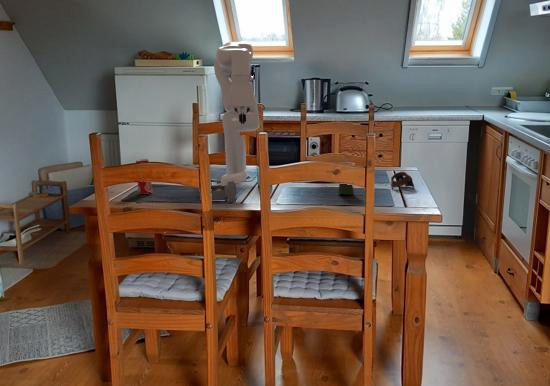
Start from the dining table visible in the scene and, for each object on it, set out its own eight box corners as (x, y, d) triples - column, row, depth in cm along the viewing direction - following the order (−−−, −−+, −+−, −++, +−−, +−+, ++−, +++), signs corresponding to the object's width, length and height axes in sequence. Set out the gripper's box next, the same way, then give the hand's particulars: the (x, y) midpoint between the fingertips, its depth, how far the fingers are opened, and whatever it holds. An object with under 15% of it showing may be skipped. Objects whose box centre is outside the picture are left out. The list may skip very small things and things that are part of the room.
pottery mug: (419, 191, 248) (412, 176, 244) (398, 201, 249) (392, 186, 245) (409, 178, 258) (403, 163, 254) (389, 188, 259) (383, 173, 255)
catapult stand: (229, 194, 246) (228, 175, 244) (237, 194, 246) (236, 174, 245) (227, 203, 233) (226, 182, 231) (236, 202, 233) (235, 182, 231)
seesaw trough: (218, 180, 247) (216, 173, 247) (248, 173, 247) (246, 166, 246) (215, 187, 235) (213, 179, 234) (248, 180, 234) (246, 172, 234)
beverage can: (144, 196, 247) (142, 161, 244) (134, 194, 251) (132, 160, 248) (155, 193, 252) (153, 159, 249) (145, 191, 256) (143, 158, 252)
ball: (218, 186, 240) (225, 191, 241) (213, 192, 241) (219, 197, 241) (218, 188, 237) (224, 193, 237) (212, 194, 237) (219, 200, 238)
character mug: (354, 197, 237) (354, 166, 234) (336, 197, 238) (336, 166, 235) (354, 191, 247) (354, 161, 244) (337, 191, 248) (337, 161, 245)
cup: (210, 196, 244) (209, 178, 242) (226, 196, 244) (225, 177, 242) (208, 202, 235) (207, 182, 233) (225, 201, 235) (224, 182, 233)
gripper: (259, 78, 247) (260, 122, 251) (223, 79, 247) (225, 123, 251) (259, 79, 240) (260, 124, 244) (222, 80, 240) (224, 125, 244)
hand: (242, 123), depth 248 cm, fingers closed
